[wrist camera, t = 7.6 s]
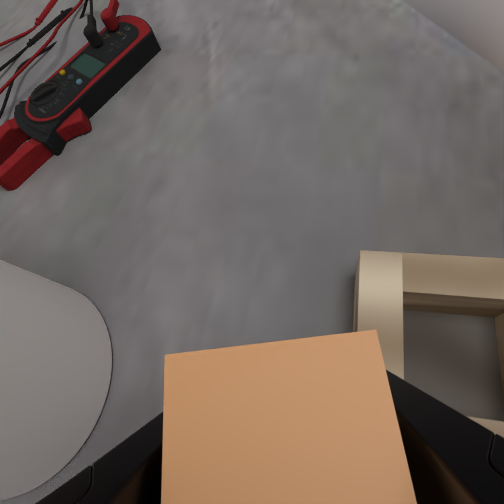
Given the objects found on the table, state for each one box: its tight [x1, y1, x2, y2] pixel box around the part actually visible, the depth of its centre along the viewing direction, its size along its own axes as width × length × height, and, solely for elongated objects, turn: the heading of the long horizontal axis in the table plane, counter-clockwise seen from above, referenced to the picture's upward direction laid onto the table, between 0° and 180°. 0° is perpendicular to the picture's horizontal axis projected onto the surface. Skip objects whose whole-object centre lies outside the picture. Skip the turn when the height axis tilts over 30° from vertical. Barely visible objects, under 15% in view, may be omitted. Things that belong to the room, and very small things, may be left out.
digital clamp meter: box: [0, 0, 161, 191], centre depth 37 cm, size 23×4×25 cm
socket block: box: [353, 250, 504, 437], centre depth 19 cm, size 10×10×4 cm
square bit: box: [161, 330, 417, 504], centre depth 10 cm, size 4×4×10 cm
